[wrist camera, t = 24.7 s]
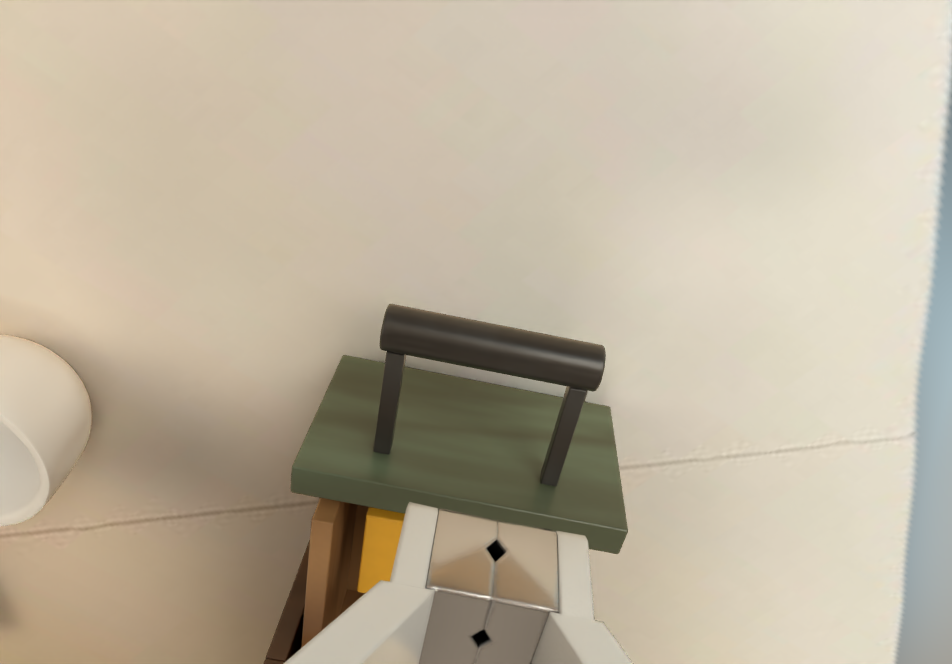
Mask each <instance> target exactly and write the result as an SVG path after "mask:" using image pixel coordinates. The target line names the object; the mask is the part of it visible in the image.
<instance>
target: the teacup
mask: <svg viewBox="0 0 952 664" xmlns="http://www.w3.org/2000/svg"><path fill="white" fill-rule="evenodd" d="M91 424H92V409H91V403H90V399H89V395H88V393H87V390H86V388H85V386H84V384H83V382H82V381H81V379H80V377H79V376H78V375H77V373H76V372H75V371H74V370H73V368H72V367H71V366H70V365H69V364H68V363H67V362H66V361H64V360H63V359H62V358H61V357H59V356H58V355H57V354H55V353H54V352H52V351H51V350H49V349H47V348H46V347H44V346H42V345H40V344H37V343H35V342H32V341H30V340H27V339H23V338H20V337H15V336H9V335H0V526H8V525H13V524H17V523H21V522H23V521H26V520H28V519H30V518H31V517H33V516H34V515H36V514H37V513H38V512H39V511H40V510H41V509H42V508H43V507H44V506H45V505H46V503H47V502H48V501H49V500H50V499H51V497H52V496H53V495H54V493H55V492H56V491H57V489H58V488H59V487H60V485H61V484H62V483H63V481H64V480H65V479H66V477H67V476H68V474H69V473H70V472H71V470H72V469H73V467H74V466H75V464H76V463H77V461H78V460H79V458H80V456H81V455H82V453H83V451H84V449H85V447H86V445H87V442H88V439H89V435H90V431H91Z"/></svg>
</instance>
